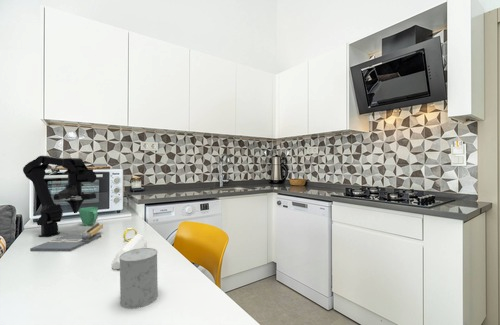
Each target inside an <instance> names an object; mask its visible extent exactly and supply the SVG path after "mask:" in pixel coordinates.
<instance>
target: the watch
mask: <svg viewBox="0 0 500 325" xmlns="http://www.w3.org/2000/svg"><path fill="white" fill-rule="evenodd" d="M129 231H134V236H135V235H136V234H138V231H137V230H136V229H135V228H134V227H128V228H126V230H124V232H123V236H122V237H123V239H124V240H125V241H126V242H129V241H130V240H131V239H132V238H131V239H127V238H126V234H127V232H129Z"/></svg>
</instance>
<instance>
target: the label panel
mask: <svg viewBox="0 0 500 325" xmlns="http://www.w3.org/2000/svg"><path fill="white" fill-rule="evenodd" d="M100 238H102V234H94V235H93V236H90V238H88V239H82V234H65V235H62V236H60V237H57V238H55V239H54V238H52V239H50V240H48V241H46V242H44V243H41V244H38V245H35V246H33V247H31V248H29V251H30V252H72V251H75V250H76V249H79V248H81V247H83V246H84V245H87V244H89V243H91V242H93V241H95V240H98V239H100Z"/></svg>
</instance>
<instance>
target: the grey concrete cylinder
mask: <svg viewBox="0 0 500 325" xmlns="http://www.w3.org/2000/svg"><path fill="white" fill-rule="evenodd" d="M119 258H120V269H119V285H120V286H119V288H120V291H119V296H120V297H119V299H120V302H119V304H120V306H121V307H122V308H125V309H131V310H132V309H133V308H134V309H139V307H140V308H143V307H146V306H149V305H150V304H152V303H154V302H155V301H157V299H158V297H159V293H158V292H159V291H158V290H159V289H158V287H159V286H158V250H157V249H156V248H154V247H153V248H152V247H147V248H139V249H133V250H130V251H127V252H125V253H123V254H121V255H120V257H119Z"/></svg>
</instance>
